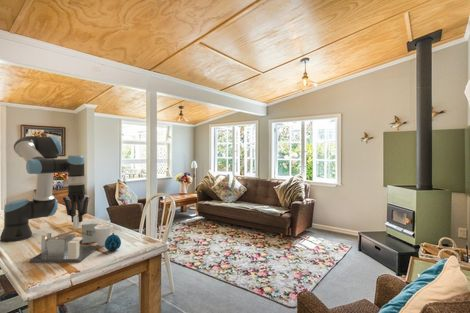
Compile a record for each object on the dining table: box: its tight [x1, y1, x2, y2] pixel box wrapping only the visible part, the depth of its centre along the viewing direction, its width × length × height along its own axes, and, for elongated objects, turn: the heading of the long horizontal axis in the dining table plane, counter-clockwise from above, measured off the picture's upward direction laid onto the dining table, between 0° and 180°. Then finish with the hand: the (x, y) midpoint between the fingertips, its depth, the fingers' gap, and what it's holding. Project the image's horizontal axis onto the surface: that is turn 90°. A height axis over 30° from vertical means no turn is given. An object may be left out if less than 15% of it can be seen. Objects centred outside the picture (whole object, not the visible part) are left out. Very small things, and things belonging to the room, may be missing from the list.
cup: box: [94, 223, 113, 247], centre depth 152 cm, size 10×10×11 cm
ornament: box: [104, 232, 122, 252], centre depth 144 cm, size 8×5×10 cm, turn 114°
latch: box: [68, 236, 83, 259], centre depth 131 cm, size 4×6×9 cm, turn 4°
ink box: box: [81, 219, 99, 245], centre depth 158 cm, size 9×9×12 cm
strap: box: [47, 227, 82, 241], centre depth 136 cm, size 18×2×1 cm, turn 94°
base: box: [29, 232, 98, 263], centre depth 136 cm, size 24×18×11 cm
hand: (77, 228), depth 136 cm, fingers closed
